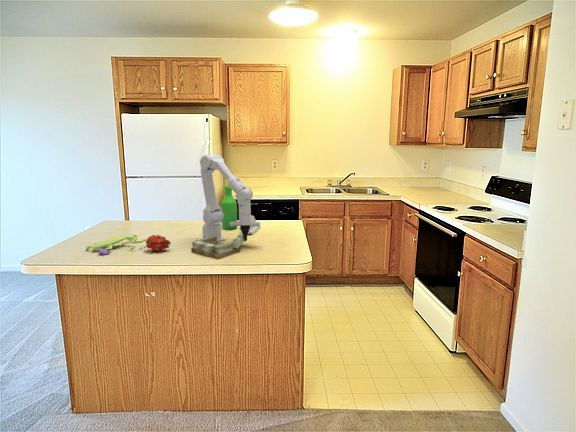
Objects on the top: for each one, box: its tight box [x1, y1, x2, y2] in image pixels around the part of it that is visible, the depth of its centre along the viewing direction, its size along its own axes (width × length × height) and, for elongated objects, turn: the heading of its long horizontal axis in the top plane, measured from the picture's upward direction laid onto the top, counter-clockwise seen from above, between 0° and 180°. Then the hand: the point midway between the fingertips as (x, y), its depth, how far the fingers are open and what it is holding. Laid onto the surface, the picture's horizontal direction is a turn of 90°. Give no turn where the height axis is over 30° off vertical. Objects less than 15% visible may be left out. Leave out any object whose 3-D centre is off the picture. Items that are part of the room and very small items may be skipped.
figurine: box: [85, 234, 148, 256], centre depth 188 cm, size 18×27×6 cm
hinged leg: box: [230, 233, 245, 248], centre depth 187 cm, size 14×3×4 cm, turn 170°
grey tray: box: [191, 236, 241, 260], centre depth 182 cm, size 18×14×5 cm
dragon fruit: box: [145, 234, 172, 252], centre depth 184 cm, size 8×8×12 cm
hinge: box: [248, 215, 261, 236], centre depth 219 cm, size 17×5×10 cm, turn 169°
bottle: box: [220, 184, 238, 231], centre depth 224 cm, size 9×9×25 cm
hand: (245, 240), depth 190 cm, fingers closed, pressing on hinged leg
